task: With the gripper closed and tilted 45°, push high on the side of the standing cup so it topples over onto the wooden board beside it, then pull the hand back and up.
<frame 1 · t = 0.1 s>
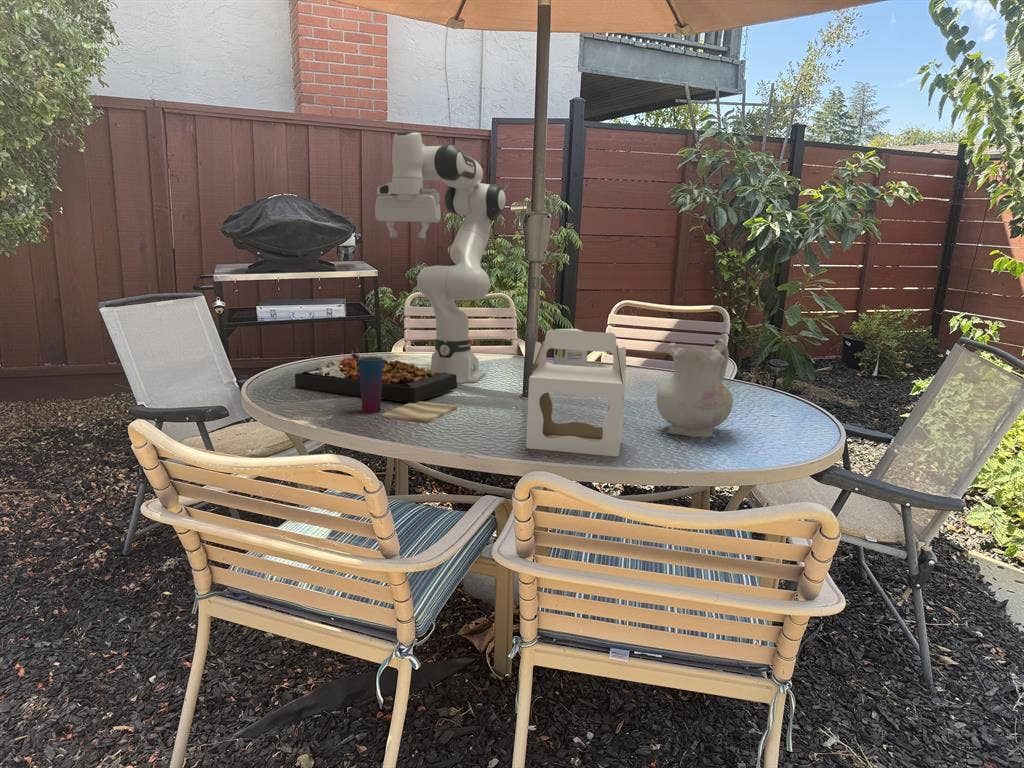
hand: (407, 237, 204), 48 cm above the table, tool pointing down, fingers open, 8 cm apart
wooden board: (420, 412, 196), on the table
ceramic pitcher: (693, 432, 185), on the table
gable box: (574, 446, 170), on the table
supplement box: (569, 376, 257), on the table
cup: (371, 411, 196), on the table
food platter: (376, 388, 223), on the table, touching wooden board
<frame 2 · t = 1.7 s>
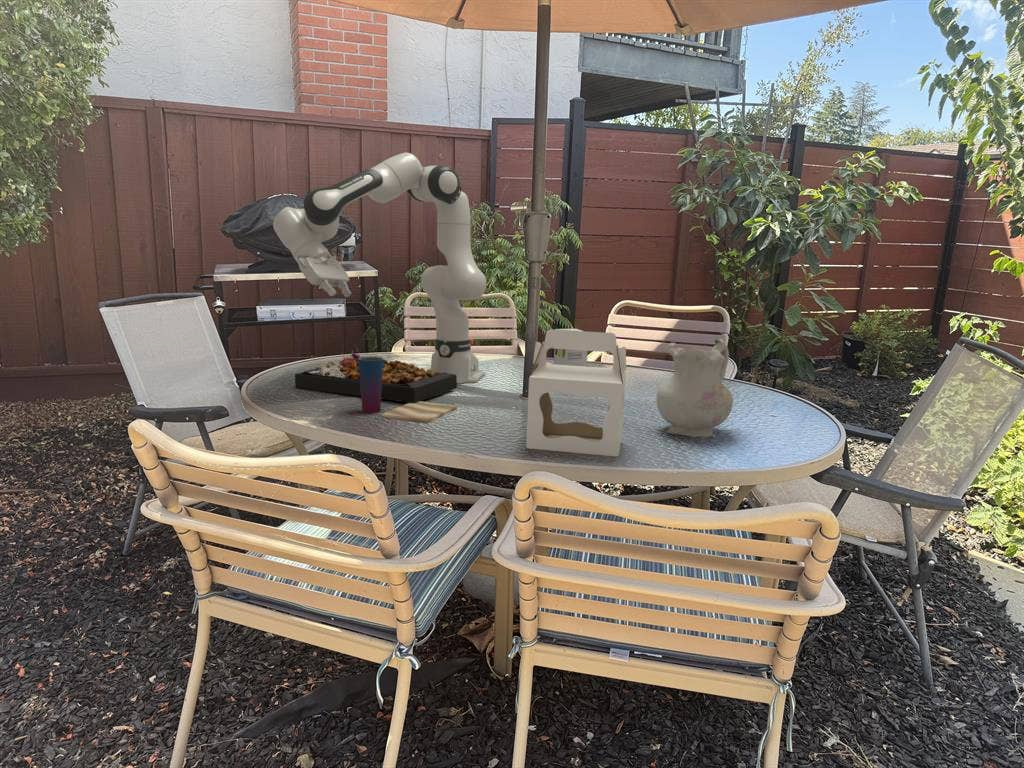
hand: (341, 295, 201), 31 cm above the table, tool tilted 40°, fingers open, 8 cm apart
nothing on the table moved.
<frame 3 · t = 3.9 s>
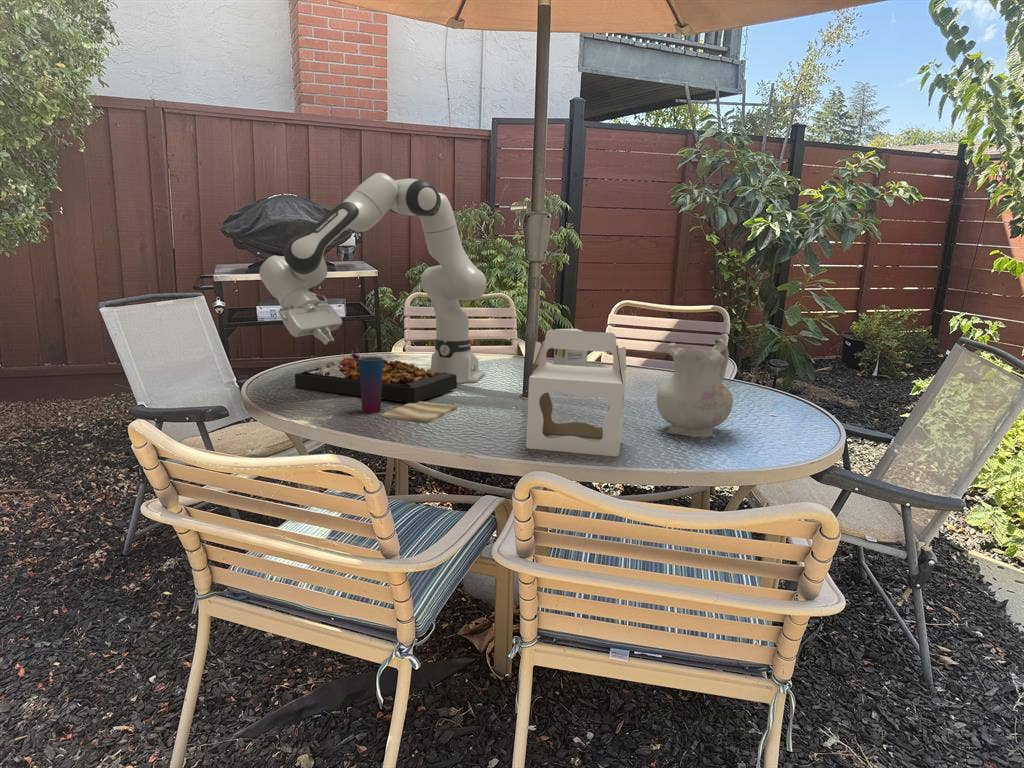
hand: (329, 342, 197), 18 cm above the table, tool tilted 45°, fingers closed
nothing on the table moved.
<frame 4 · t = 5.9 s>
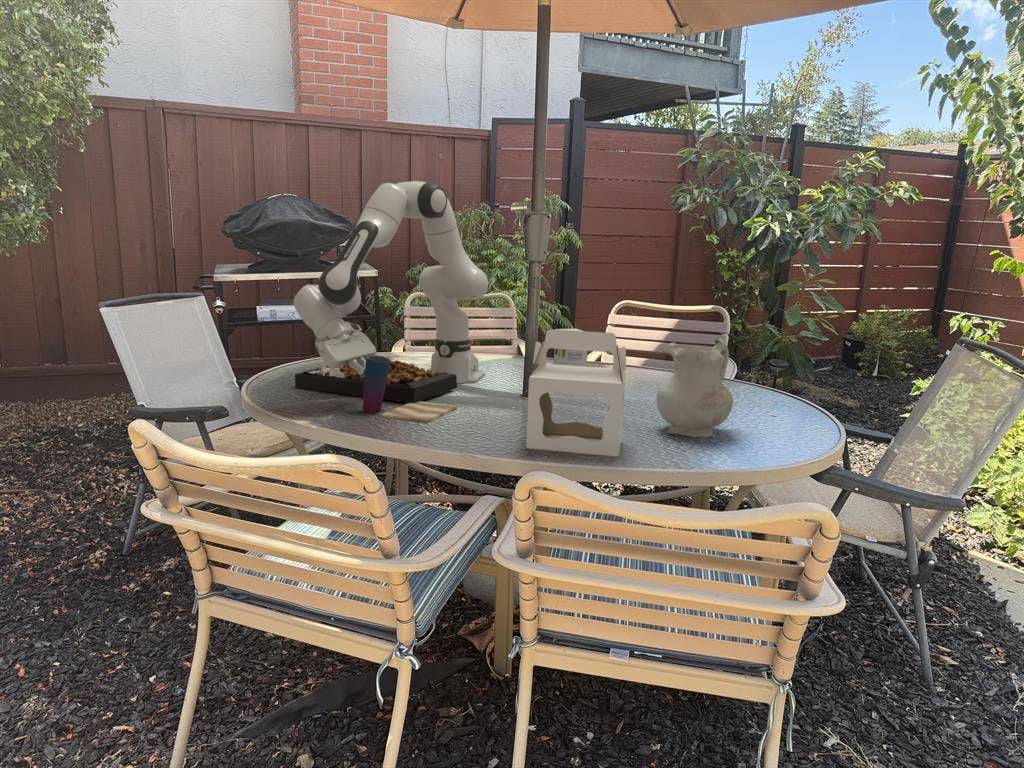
hand: (365, 373, 194), 11 cm above the table, tool tilted 45°, fingers closed
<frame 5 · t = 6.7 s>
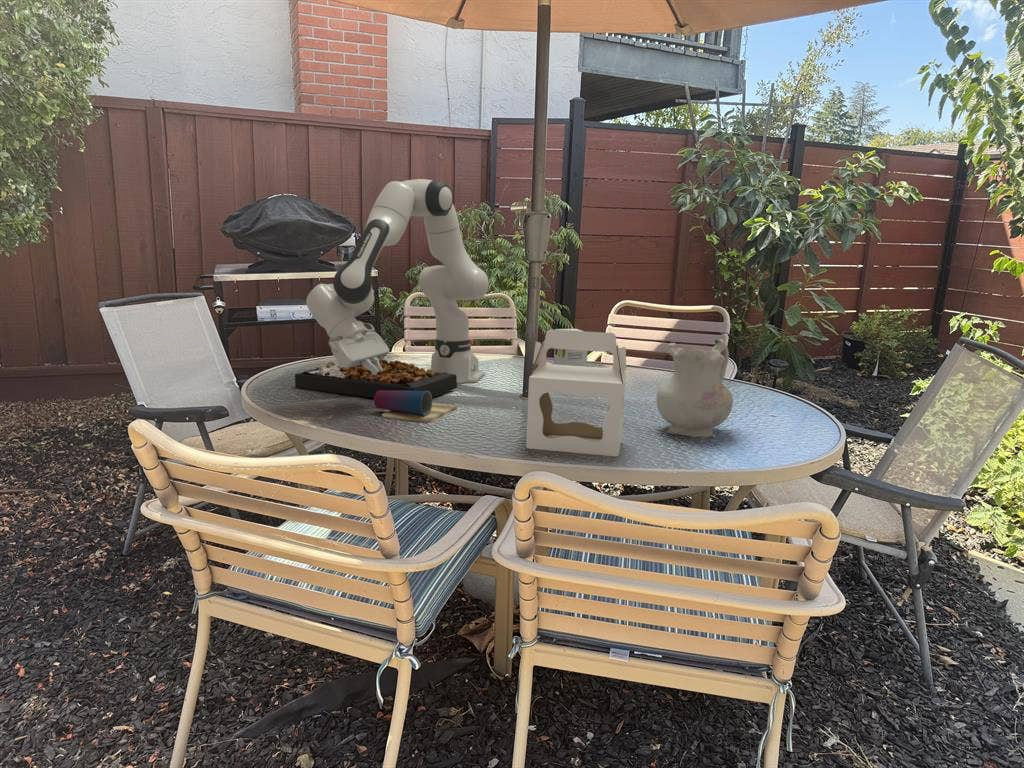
hand: (378, 372, 192), 11 cm above the table, tool tilted 45°, fingers closed
cup: (378, 399, 194), point 4 cm above the table, touching wooden board
everything else where it was.
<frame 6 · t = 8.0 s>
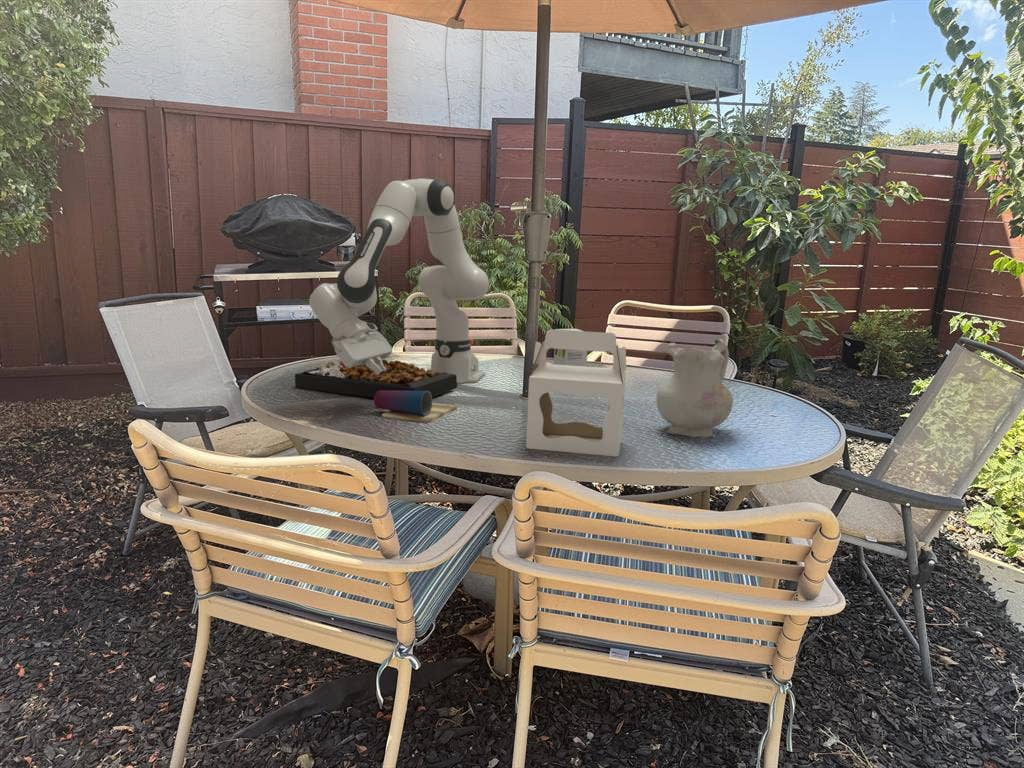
hand: (382, 372, 192), 11 cm above the table, tool tilted 45°, fingers closed
nothing on the table moved.
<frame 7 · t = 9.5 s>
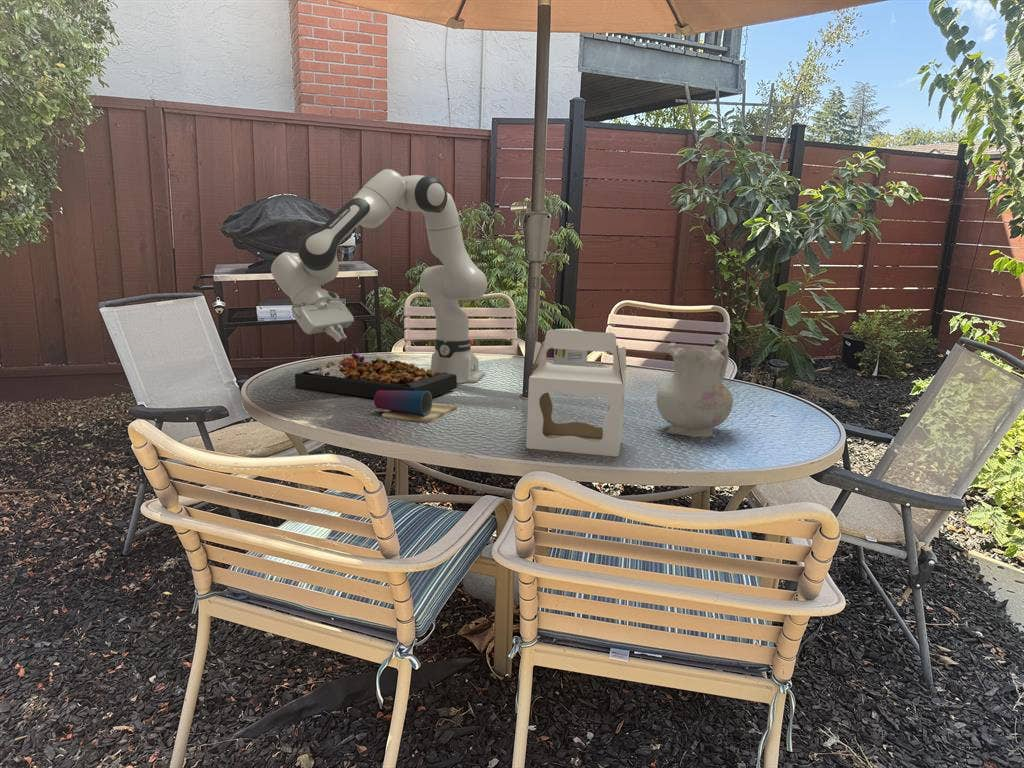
hand: (342, 340, 195), 19 cm above the table, tool tilted 45°, fingers closed
nothing on the table moved.
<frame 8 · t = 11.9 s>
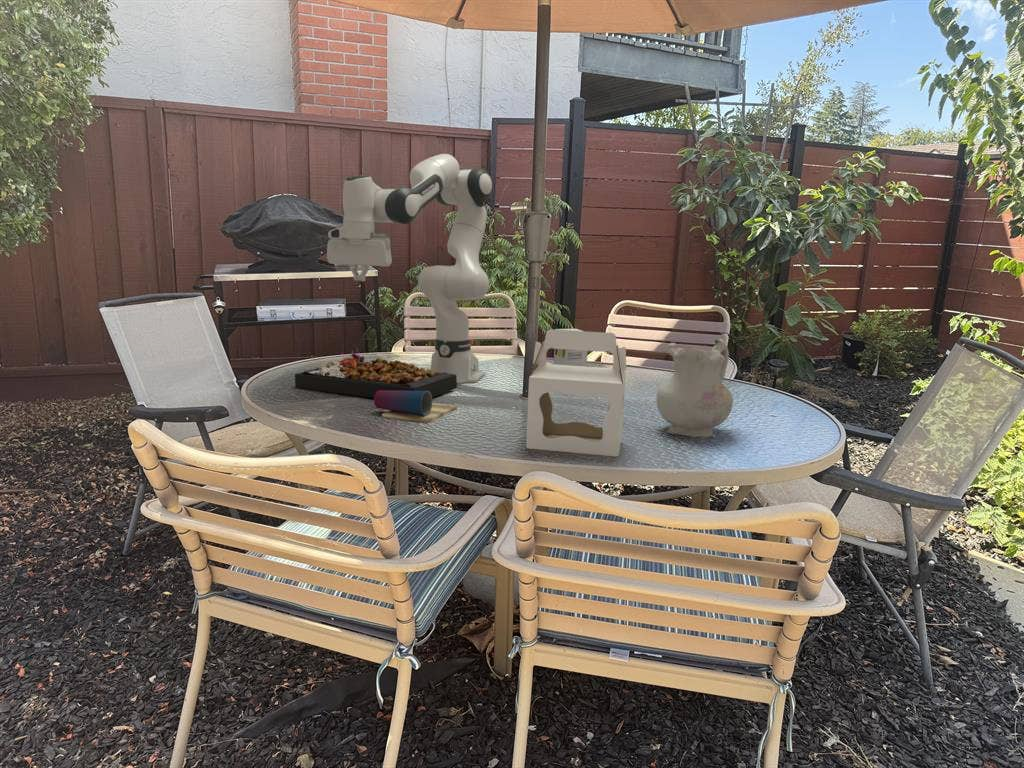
hand: (359, 280, 204), 35 cm above the table, tool pointing down, fingers closed
nothing on the table moved.
at the end: cup tilted 88°; cup touching wooden board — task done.
